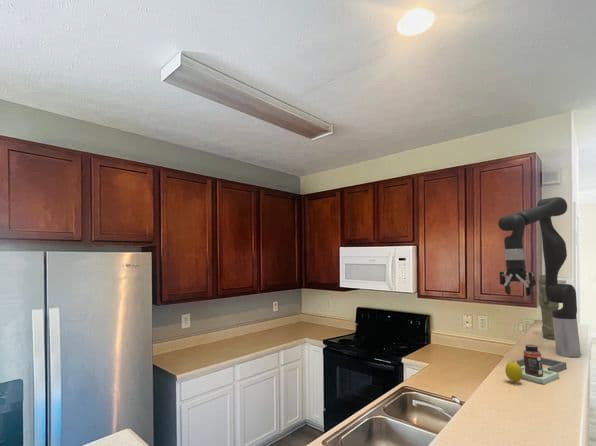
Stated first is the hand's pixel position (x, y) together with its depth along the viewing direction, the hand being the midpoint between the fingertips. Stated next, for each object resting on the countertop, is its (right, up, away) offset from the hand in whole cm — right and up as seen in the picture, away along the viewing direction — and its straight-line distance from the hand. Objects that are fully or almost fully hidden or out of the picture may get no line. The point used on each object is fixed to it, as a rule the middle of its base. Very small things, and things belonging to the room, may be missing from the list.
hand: (518, 295), depth 153 cm
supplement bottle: (-5, -28, -18) cm, 34 cm away
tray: (-5, -29, -18) cm, 34 cm away
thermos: (+44, -33, +39) cm, 67 cm away
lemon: (-16, -29, -23) cm, 40 cm away
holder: (+5, -29, -8) cm, 31 cm away
